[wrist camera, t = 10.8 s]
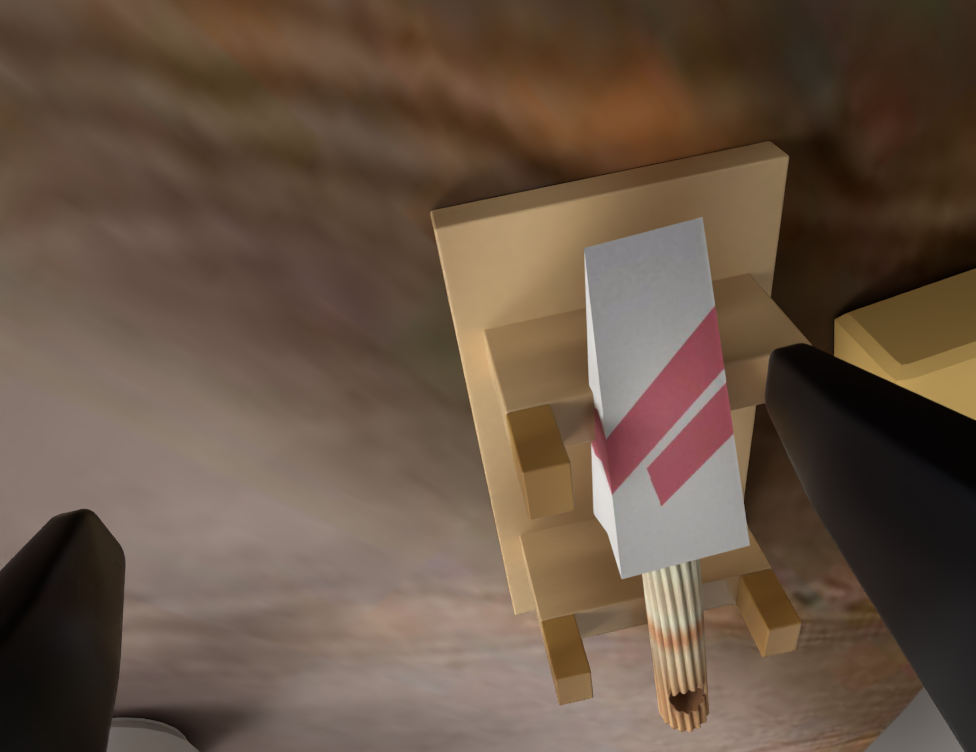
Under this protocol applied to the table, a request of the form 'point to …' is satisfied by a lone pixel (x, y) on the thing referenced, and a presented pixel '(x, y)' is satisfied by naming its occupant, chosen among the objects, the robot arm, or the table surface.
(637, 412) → the paintbrush
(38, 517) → the table surface
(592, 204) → the brush rack
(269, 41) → the table surface
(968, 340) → the rubber stamp
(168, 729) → the can
